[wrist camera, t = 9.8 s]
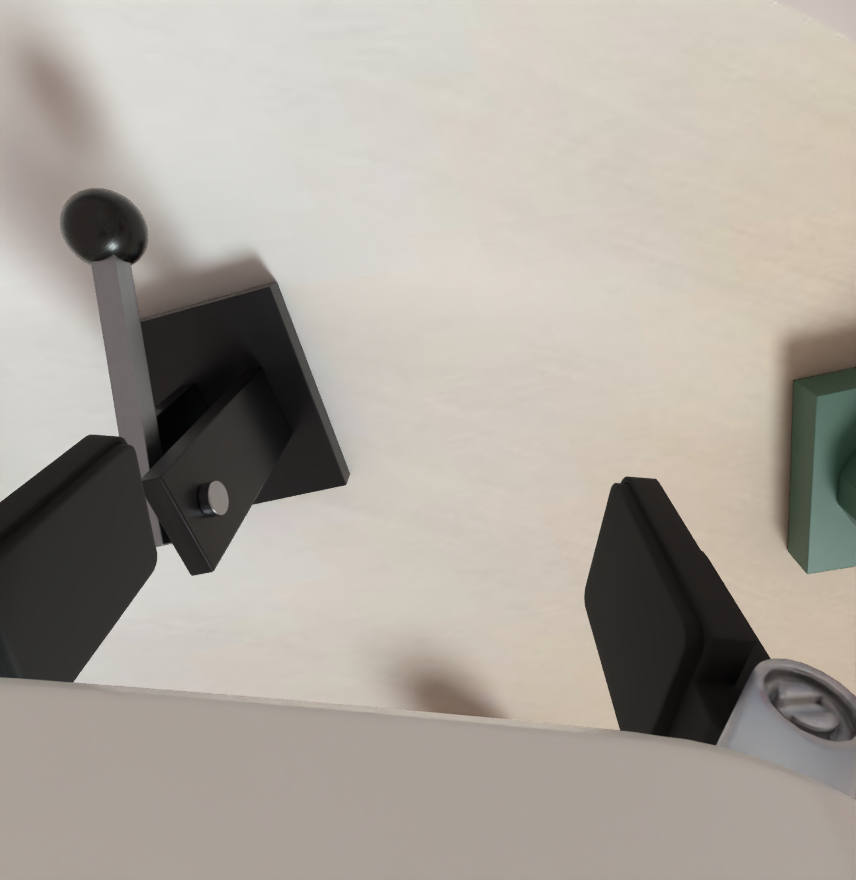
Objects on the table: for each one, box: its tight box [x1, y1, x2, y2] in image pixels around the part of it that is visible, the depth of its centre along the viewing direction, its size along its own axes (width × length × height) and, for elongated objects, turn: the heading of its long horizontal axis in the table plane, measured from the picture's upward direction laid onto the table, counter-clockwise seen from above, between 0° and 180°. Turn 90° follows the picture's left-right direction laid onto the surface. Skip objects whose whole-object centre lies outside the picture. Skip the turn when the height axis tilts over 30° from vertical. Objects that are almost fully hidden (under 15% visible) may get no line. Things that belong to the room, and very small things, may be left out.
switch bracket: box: [140, 282, 350, 576], centre depth 26 cm, size 12×9×13 cm
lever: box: [60, 188, 172, 547], centre depth 23 cm, size 15×3×3 cm, turn 15°
